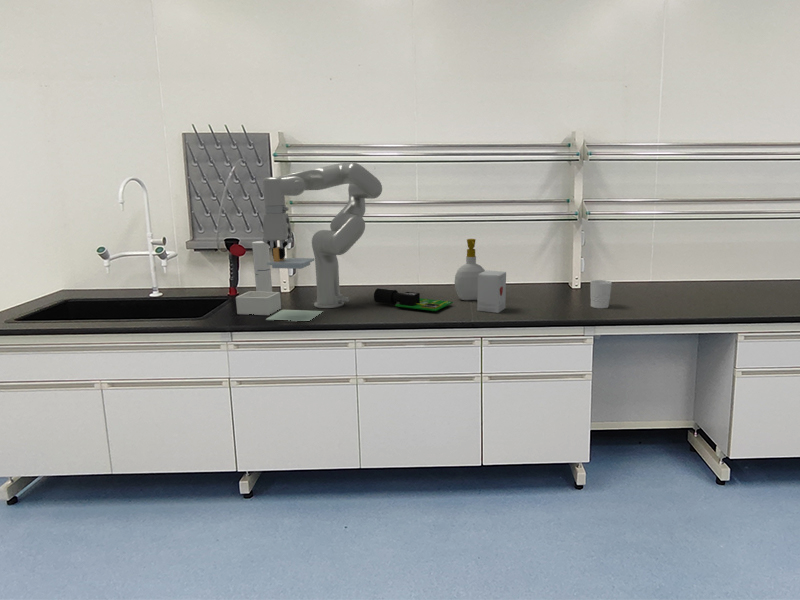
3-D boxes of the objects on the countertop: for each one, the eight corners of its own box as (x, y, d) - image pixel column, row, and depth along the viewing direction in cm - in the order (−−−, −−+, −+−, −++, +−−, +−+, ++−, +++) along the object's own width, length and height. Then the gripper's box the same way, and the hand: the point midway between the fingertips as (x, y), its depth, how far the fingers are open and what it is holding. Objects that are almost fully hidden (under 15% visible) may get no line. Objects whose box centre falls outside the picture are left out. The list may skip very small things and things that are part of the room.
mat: (323, 312, 224) (323, 311, 224) (309, 322, 210) (308, 321, 210) (282, 310, 228) (282, 309, 228) (265, 320, 214) (265, 319, 214)
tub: (281, 308, 231) (279, 292, 230) (269, 315, 221) (267, 298, 219) (250, 307, 235) (249, 291, 233) (237, 314, 224) (235, 297, 223)
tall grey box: (268, 298, 251) (264, 243, 245) (254, 297, 252) (249, 243, 247) (275, 294, 258) (270, 241, 252) (260, 294, 259) (256, 241, 253)
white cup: (601, 310, 216) (602, 284, 214) (584, 306, 223) (586, 281, 220) (614, 307, 220) (615, 282, 218) (597, 303, 227) (599, 279, 224)
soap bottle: (456, 302, 233) (456, 241, 227) (452, 298, 242) (452, 238, 236) (490, 301, 235) (491, 239, 229) (484, 296, 243) (485, 237, 237)
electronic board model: (452, 289, 227) (435, 297, 215) (452, 305, 229) (435, 314, 216) (391, 283, 243) (371, 290, 230) (391, 298, 244) (372, 306, 232)
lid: (314, 264, 218) (313, 245, 216) (302, 269, 207) (301, 250, 206) (280, 263, 221) (279, 245, 220) (267, 268, 211) (266, 249, 209)
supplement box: (498, 313, 215) (499, 275, 212) (476, 311, 219) (477, 273, 216) (506, 308, 223) (506, 271, 219) (485, 306, 227) (485, 270, 224)
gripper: (298, 209, 212) (302, 257, 216) (261, 209, 216) (264, 256, 220) (290, 211, 205) (293, 260, 209) (251, 211, 209) (255, 259, 213)
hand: (279, 258), depth 215 cm, fingers closed on lid
